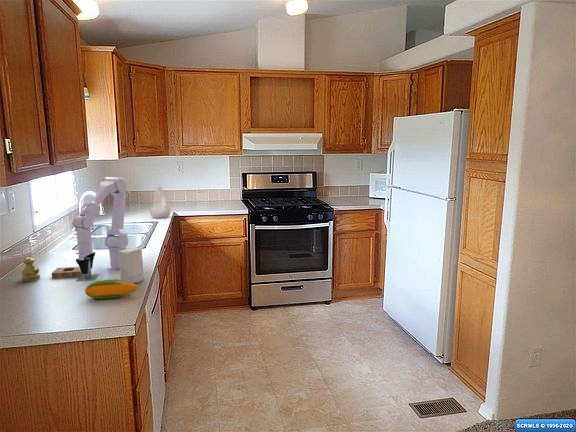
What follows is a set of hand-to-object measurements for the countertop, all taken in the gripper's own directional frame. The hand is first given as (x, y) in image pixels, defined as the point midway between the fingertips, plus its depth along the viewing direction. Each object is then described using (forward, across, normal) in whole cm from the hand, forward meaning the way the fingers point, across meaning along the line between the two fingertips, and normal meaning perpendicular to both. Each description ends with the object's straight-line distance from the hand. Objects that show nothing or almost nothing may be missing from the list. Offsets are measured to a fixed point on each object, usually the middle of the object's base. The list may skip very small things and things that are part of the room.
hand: (87, 271), depth 194 cm
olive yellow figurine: (+4, -4, -25) cm, 26 cm away
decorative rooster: (+3, -144, +17) cm, 146 cm away
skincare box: (+4, +8, +21) cm, 23 cm away
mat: (+3, 0, 0) cm, 3 cm away
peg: (+3, 0, 0) cm, 3 cm away
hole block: (+3, -6, -10) cm, 11 cm away
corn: (+4, +26, +16) cm, 31 cm away
